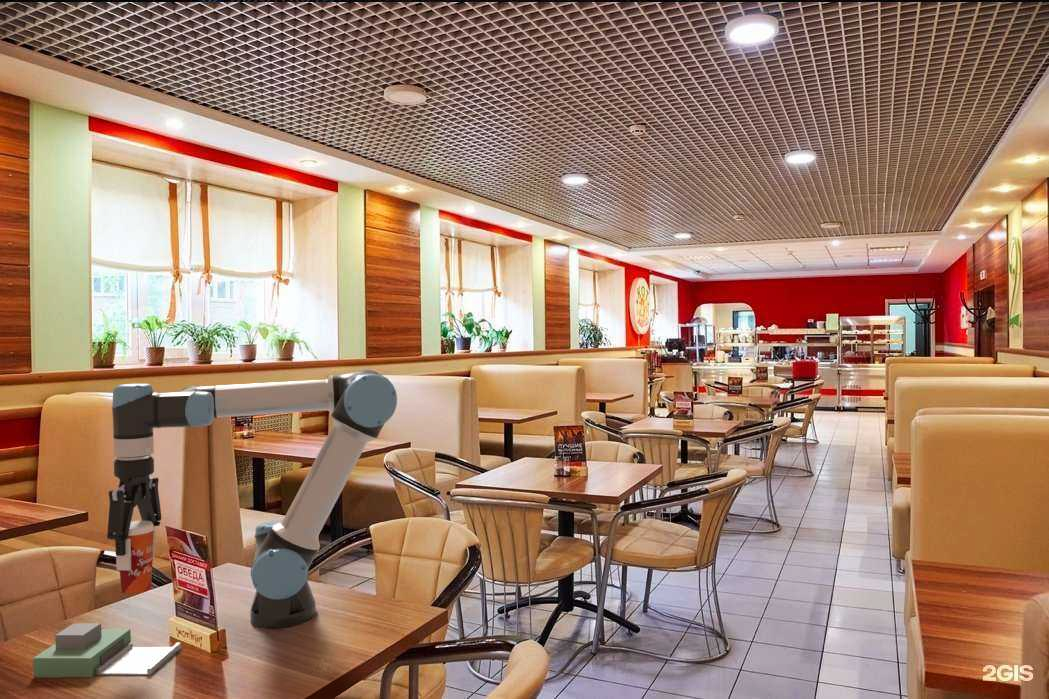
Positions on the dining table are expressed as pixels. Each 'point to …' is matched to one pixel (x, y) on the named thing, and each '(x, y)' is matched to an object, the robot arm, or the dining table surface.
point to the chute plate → (136, 660)
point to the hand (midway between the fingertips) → (136, 562)
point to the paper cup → (139, 558)
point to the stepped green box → (80, 650)
